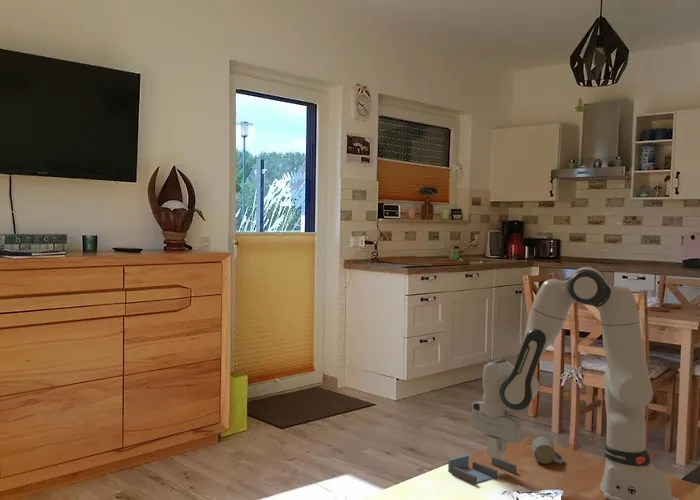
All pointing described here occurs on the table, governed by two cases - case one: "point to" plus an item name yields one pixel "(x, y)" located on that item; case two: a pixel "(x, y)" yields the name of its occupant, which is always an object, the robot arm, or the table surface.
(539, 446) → the ceramic mug
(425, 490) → the table surface
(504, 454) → the cord plug
